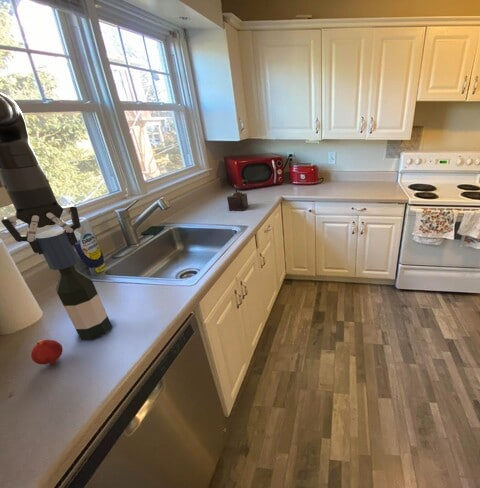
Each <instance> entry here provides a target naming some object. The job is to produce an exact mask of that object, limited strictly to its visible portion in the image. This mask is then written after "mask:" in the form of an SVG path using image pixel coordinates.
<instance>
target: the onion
mask: <svg viewBox="0 0 480 488" xmlns="http://www.w3.org/2000/svg"><path fill="white" fill-rule="evenodd" d="M63 351H64V349H63V345H62V344H61V343H60V342H59V341H57V340H53V339H39V340H38V341H37V342H36V345H34V347H32V350H31V353H30V355H31V356H30V358H31V360H32V361H33V363H35V364H37V365H52V364H53V365H54V364H55V363H56V362H57V361H58V360H59V359H60V357H61V356H62V354H63Z"/></svg>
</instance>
